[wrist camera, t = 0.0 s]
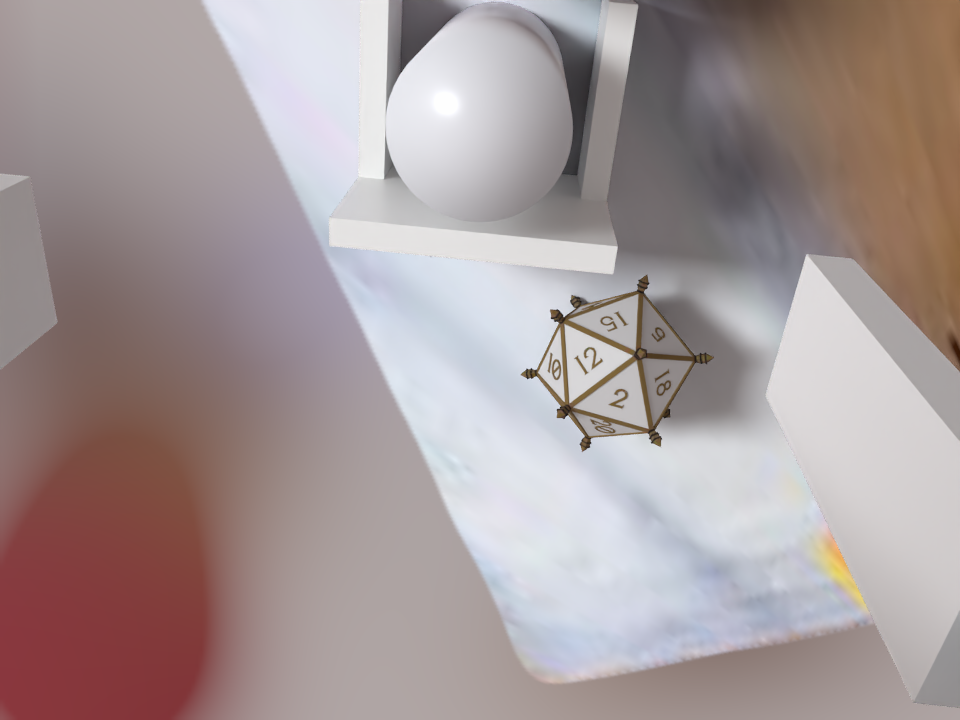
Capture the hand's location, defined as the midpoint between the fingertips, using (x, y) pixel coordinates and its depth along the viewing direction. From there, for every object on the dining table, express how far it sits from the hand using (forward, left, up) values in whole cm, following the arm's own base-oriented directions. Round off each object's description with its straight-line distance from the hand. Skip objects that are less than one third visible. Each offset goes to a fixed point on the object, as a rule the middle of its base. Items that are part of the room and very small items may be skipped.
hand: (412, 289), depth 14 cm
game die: (+14, +8, -28) cm, 32 cm away
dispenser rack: (-4, 0, -28) cm, 28 cm away
